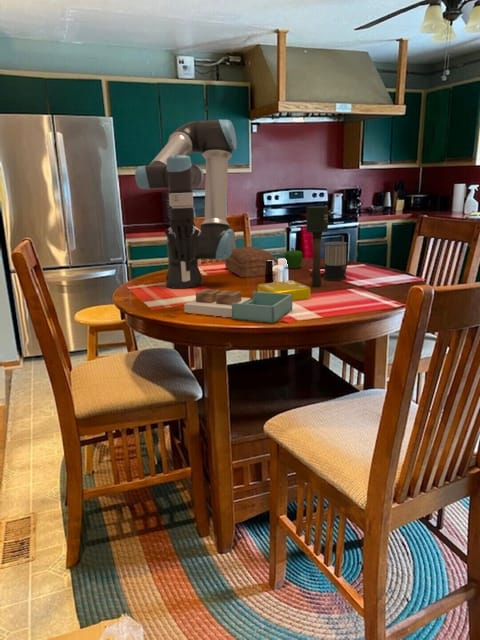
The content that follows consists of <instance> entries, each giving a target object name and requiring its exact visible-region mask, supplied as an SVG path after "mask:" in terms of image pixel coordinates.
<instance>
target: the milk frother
mask: <svg viewBox="0 0 480 640" xmlns="http://www.w3.org/2000/svg"><path fill="white" fill-rule="evenodd" d="M348 255H349V248H348V242H346V241H328V242H324V265H320V270H324V272H322V273H321V272H320V273H321V277H323V279H324V280H326V281H335V282H336V281H337V282H338V281H343V280H346V279H347V273H346V272H347V269H348ZM310 275H311V276H312V275H313V269H312V270H311V271H310Z"/></svg>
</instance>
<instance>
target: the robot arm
mask: <svg viewBox="0 0 480 640" xmlns="http://www.w3.org/2000/svg"><path fill="white" fill-rule="evenodd" d="M233 124H234V123H232V121H231V120H229V119H220V118H218V119H214V120H213V119H211V120H195V121H189V122H188V123H185V124H183V125H182V126H180V127H178V128H177V129H175V130H174V131H173V132H172V133H171V134H170V135H169V137H168V141H167V144H166V145H164V147H163V148H162V149H161V150H160V152H159V153H158V154H157V155H156V156H155V157H154V159H153V160H152V161H151V162H150V163H149V164H148V165H142V166H138V167H136V169H135V173H134V178H135V183H136V185H137V187H138V188H139V189H142V190H162V189H166V190H167V189H168V200H169V201H168V202H169V207H171V208H170V209H169V219H170V220H171V221H170V227H168V229H165V230H164V234H165V236H166V248H167V260H168V269H167V273H166V277H165V286H166V287H167V286H168V288H170V287H174V288H173V289H189V287H192V288H197V287H199V285H200V286H202V285H204V281H203V280H204V279H203V276H202V272H201V271H200V268H199V265H198V260H217V261H219V260H226V259H227V258H229V257H230V256H231V254H232V251H233V249H234V247H235V232H234V230H233V229H232V228H231V225H230V224H229V223H228V221H227V209H228V207H227V205H228V202H227V201H228V171H229V170H228V168H229V167H228V166H229V165H228V161H229V160H230V159H231V158H232V156H233V152H235V151H236V150H237V147H238V146H237V145H238V143H237V135H236V131H235V127H234V125H233ZM197 153H198V154H199V153H200V154H201V156H202V157H203V158H204V159H205V174H204V170H203V169H202V168H201V167H200V166H199V165H197V164H194V163H192V160H191V157H190V154H197ZM204 179H205V184H204V185H205V189H204V191H205V192H204V195H205V196H204V220H203V221H202V222H201V224H200V228H198V227H196V223H195V211H194V208H193V206H194V193H193V192H194V191H193V189H195V188H197V187H200V186H201V185H202V183H203V182H204ZM196 286H197V287H196Z"/></svg>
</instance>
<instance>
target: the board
mask: <svg viewBox="0 0 480 640" xmlns="http://www.w3.org/2000/svg"><path fill="white" fill-rule="evenodd" d="M241 299H242V301H240V302H238V303H242V304H246V303H247V302H249V301H251V300H252V298H250V297H242V296H241ZM183 306H184V313H185V312H188V313H198V314H206V315H214V316H213V317H216V316H222V317H221V318H226V317H232V305H226V304H216V302H214V303H204V302H196V298H195V299H193V300H191V301H189V302H186V303H184V305H183ZM206 315H205V316H206Z"/></svg>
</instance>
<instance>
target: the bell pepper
mask: <svg viewBox="0 0 480 640" xmlns="http://www.w3.org/2000/svg"><path fill="white" fill-rule="evenodd" d="M284 252H285V253H284V260H285V259H286V260H287V264H288V267H287V268H288V269H291V270H295V269H299V268H300V267H301V266H302V262H303V252H302V251H301V250H295V247H290V250H287V251H284Z"/></svg>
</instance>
